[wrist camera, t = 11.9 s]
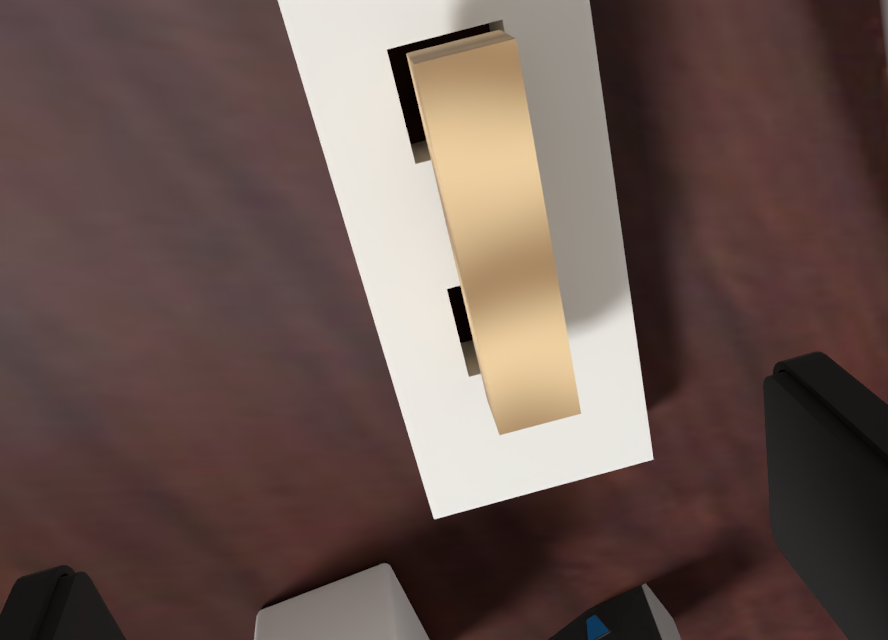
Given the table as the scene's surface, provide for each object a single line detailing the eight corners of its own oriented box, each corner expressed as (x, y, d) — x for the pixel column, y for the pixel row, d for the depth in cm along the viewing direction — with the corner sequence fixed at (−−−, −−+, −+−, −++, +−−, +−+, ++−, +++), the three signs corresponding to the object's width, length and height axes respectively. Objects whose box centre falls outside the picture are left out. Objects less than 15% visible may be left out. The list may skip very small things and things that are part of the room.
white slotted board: (242, -139, 27) (233, -148, 24) (534, -213, 27) (557, -230, 24) (426, 478, 38) (434, 519, 36) (630, 423, 39) (653, 459, 36)
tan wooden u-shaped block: (394, 36, 30) (414, 64, 23) (473, 16, 30) (516, 38, 23) (466, 341, 36) (499, 435, 29) (532, 324, 36) (581, 413, 29)
